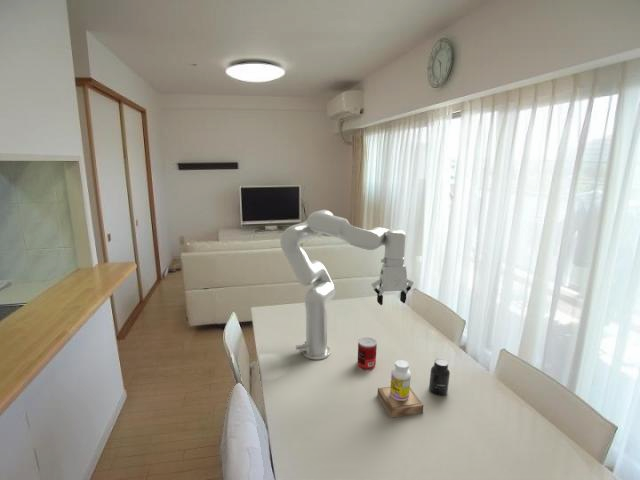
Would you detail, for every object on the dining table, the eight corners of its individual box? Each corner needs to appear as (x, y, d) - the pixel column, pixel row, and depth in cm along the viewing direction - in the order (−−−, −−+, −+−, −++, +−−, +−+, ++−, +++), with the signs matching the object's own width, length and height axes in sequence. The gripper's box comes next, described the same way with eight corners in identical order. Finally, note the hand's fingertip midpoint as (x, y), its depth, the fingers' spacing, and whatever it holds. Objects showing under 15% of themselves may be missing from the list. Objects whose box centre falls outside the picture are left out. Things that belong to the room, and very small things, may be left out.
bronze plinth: (390, 417, 118) (391, 409, 118) (377, 395, 130) (377, 387, 129) (422, 412, 121) (423, 404, 120) (407, 391, 132) (407, 383, 132)
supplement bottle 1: (386, 392, 127) (388, 360, 124) (401, 388, 129) (403, 356, 126) (397, 403, 121) (399, 370, 118) (412, 399, 123) (415, 366, 120)
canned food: (377, 362, 151) (378, 339, 149) (372, 372, 144) (373, 348, 142) (360, 358, 155) (361, 335, 152) (354, 367, 147) (355, 343, 145)
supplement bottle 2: (438, 398, 129) (441, 369, 126) (425, 388, 134) (427, 360, 132) (451, 393, 132) (454, 364, 129) (438, 383, 138) (440, 355, 135)
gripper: (376, 265, 130) (374, 308, 133) (419, 263, 134) (415, 304, 137) (369, 260, 137) (367, 300, 141) (409, 258, 141) (407, 297, 144)
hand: (391, 302), depth 139 cm, fingers open, 9 cm apart
